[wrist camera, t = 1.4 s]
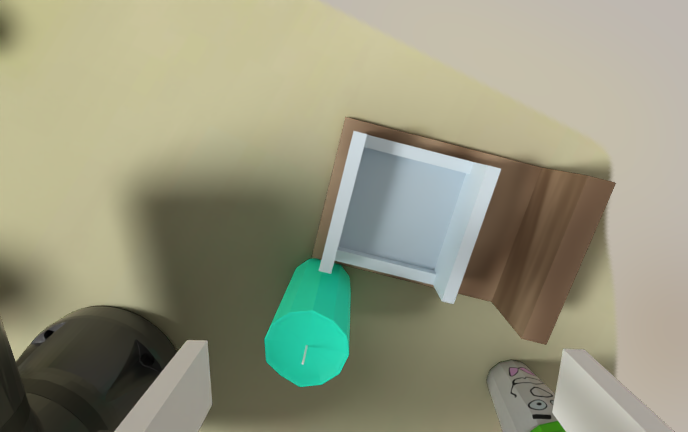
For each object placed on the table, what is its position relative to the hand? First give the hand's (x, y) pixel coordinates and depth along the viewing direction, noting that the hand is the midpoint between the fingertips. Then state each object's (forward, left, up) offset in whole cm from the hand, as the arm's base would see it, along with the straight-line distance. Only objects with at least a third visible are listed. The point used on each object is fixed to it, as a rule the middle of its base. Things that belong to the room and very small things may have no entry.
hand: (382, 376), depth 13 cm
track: (+5, +3, -20) cm, 21 cm away
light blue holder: (+2, +3, -19) cm, 20 cm away
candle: (-3, -6, -21) cm, 22 cm away
